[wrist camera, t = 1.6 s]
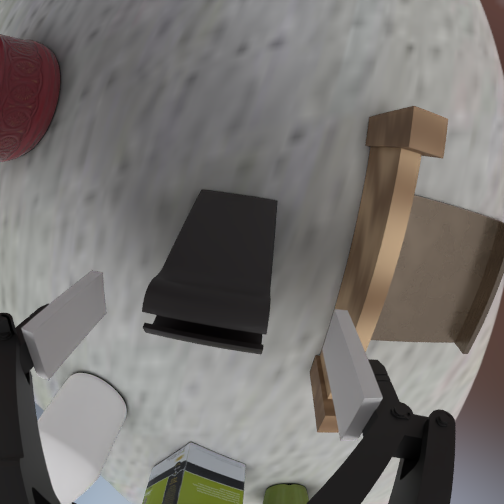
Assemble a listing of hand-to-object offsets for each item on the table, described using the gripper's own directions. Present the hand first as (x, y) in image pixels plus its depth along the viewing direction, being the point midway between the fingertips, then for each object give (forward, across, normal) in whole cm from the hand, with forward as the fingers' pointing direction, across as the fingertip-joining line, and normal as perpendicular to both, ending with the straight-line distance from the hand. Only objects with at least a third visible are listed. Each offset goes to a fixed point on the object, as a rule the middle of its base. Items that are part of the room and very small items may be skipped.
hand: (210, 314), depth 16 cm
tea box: (+11, -3, -37) cm, 39 cm away
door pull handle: (+10, +10, 0) cm, 14 cm away
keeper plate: (+10, +19, 0) cm, 21 cm away
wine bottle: (+10, -17, -23) cm, 30 cm away
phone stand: (+10, 0, +1) cm, 10 cm away
